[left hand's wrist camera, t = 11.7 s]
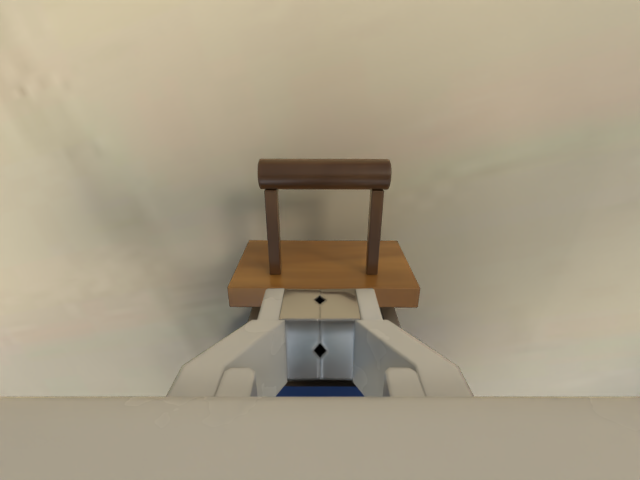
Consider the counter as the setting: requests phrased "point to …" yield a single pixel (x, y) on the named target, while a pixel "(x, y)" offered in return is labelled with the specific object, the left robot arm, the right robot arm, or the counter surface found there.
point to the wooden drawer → (324, 245)
